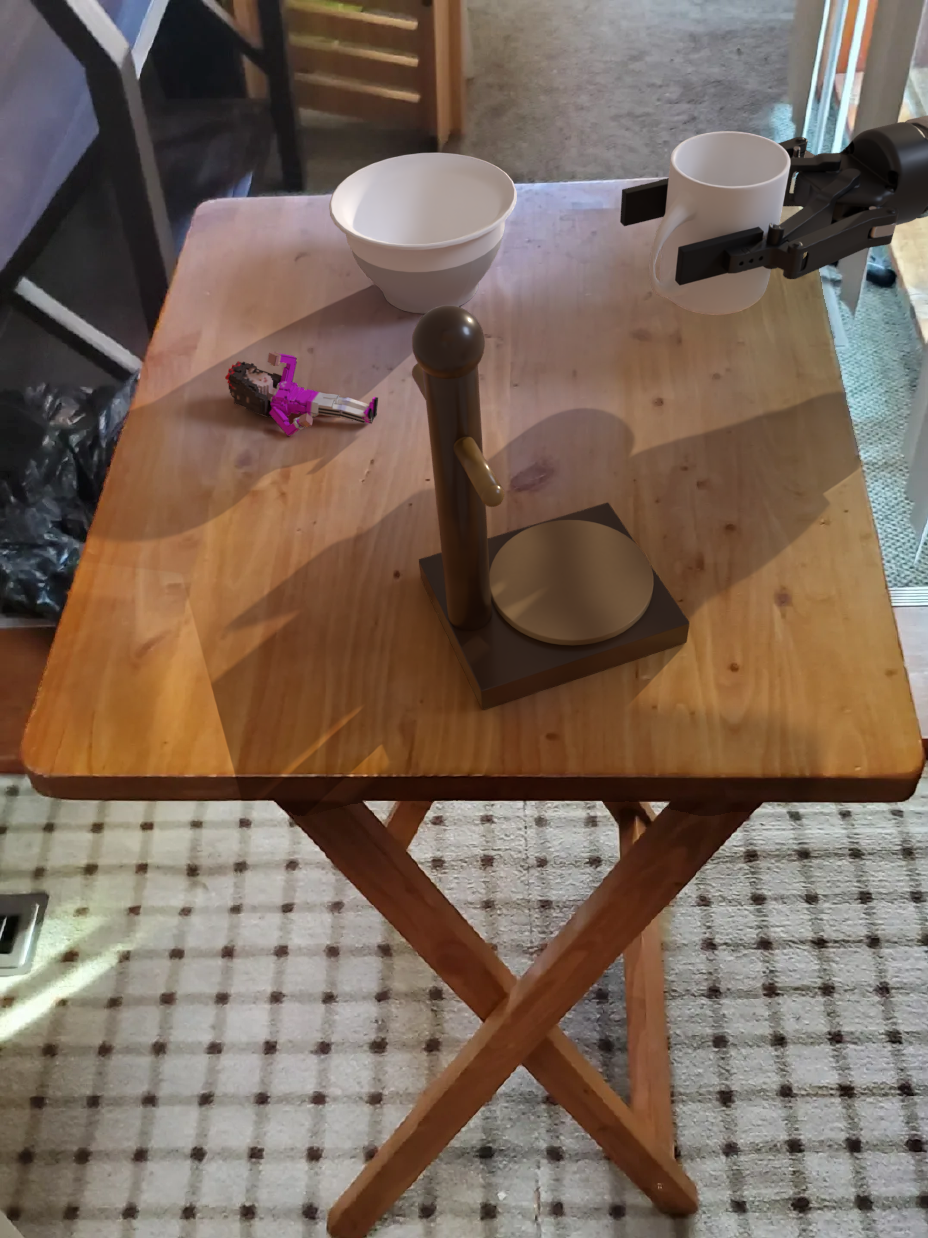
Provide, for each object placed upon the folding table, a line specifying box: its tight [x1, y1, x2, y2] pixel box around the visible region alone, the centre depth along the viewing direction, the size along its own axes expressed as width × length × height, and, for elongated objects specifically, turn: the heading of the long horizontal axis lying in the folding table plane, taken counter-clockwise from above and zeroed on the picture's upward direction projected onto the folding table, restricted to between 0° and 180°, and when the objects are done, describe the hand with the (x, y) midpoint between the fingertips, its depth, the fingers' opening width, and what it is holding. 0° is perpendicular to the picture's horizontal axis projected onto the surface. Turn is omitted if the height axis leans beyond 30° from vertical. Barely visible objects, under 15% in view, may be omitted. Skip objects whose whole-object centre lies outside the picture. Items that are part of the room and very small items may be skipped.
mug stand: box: [411, 305, 690, 711], centre depth 62 cm, size 14×12×24 cm
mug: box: [648, 130, 790, 316], centre depth 82 cm, size 9×12×11 cm
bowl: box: [328, 152, 518, 315], centre depth 94 cm, size 16×16×8 cm
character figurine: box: [224, 351, 379, 437], centre depth 84 cm, size 6×5×12 cm
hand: (650, 236), depth 81 cm, fingers closed on mug, 9 cm apart
